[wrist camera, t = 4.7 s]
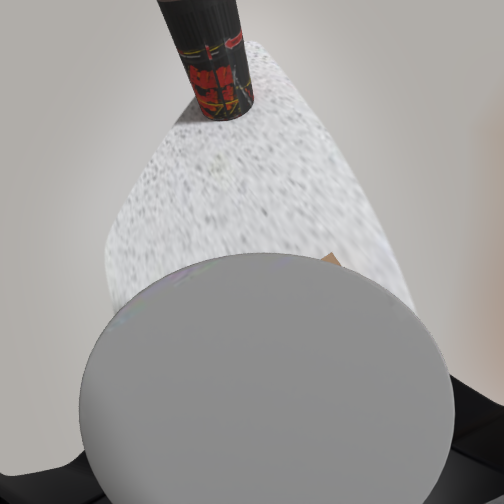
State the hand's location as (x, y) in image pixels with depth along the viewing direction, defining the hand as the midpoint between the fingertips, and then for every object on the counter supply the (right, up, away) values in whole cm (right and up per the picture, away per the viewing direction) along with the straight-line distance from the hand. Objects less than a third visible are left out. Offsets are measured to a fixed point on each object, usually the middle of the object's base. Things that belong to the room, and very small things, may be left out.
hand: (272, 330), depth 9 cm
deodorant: (-3, +19, +20) cm, 28 cm away
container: (+1, -4, +8) cm, 9 cm away
